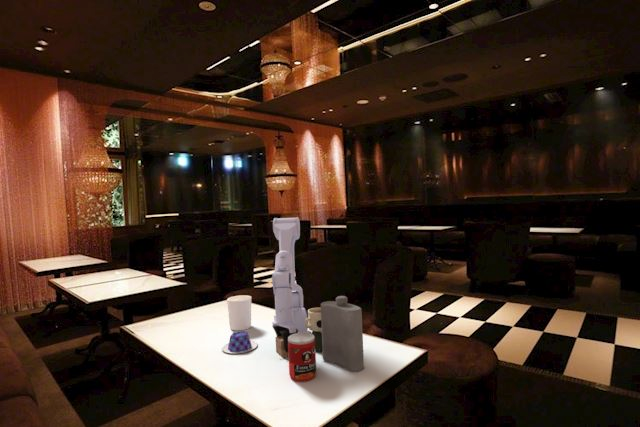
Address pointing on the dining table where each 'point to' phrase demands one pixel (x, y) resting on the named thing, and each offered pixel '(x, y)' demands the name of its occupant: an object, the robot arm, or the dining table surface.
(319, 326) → the character mug
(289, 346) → the canned food
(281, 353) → the walnut block
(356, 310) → the flask
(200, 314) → the dining table surface
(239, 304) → the candle holder
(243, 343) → the pudding
